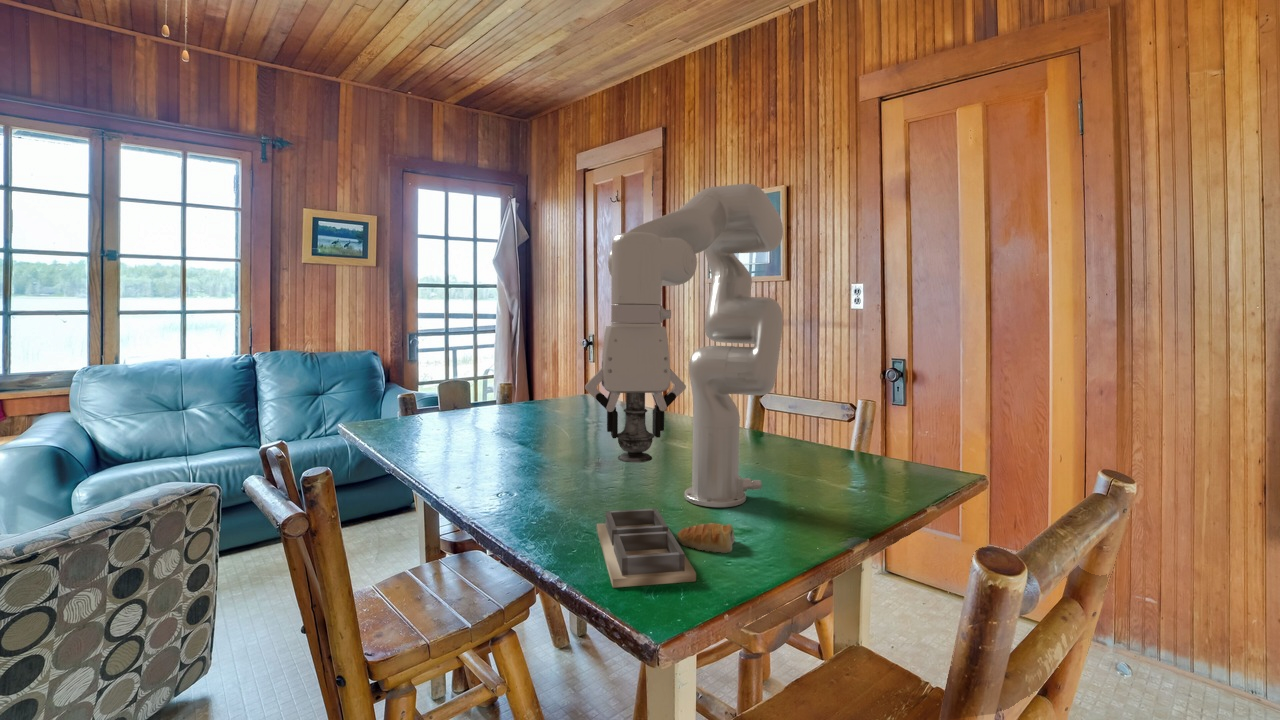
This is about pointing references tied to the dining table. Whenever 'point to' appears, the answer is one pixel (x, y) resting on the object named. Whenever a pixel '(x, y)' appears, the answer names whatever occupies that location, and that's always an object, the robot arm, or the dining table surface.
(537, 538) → the dining table surface
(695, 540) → the pastry
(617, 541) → the collar board
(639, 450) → the salt shaker
